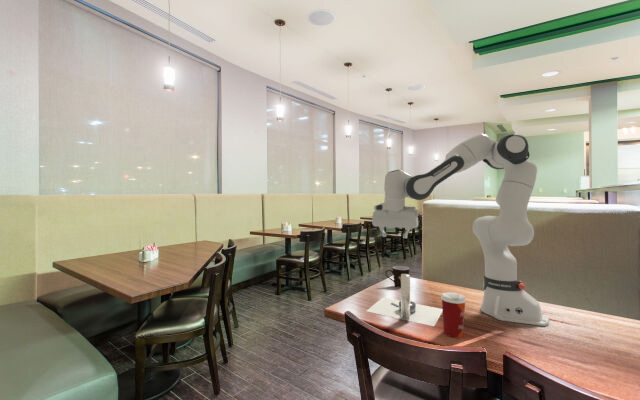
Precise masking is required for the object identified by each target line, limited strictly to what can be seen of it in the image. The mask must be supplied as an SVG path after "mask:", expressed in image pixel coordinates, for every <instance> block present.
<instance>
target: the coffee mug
mask: <svg viewBox="0 0 640 400" xmlns="http://www.w3.org/2000/svg"><path fill="white" fill-rule="evenodd" d="M388 272H390V273H391V274H392V275H393V279H392V278H391V277H389V276H388V275H387V273H388ZM384 274H385V276H386V277H387V278H388V279H389V280H390V281H392V282H393V283H394V288H397V287H399V288H401V274H409V275H410V267H408V266H405V265H395V266H392V270H391V269H387V270H385V273H384Z"/></svg>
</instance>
